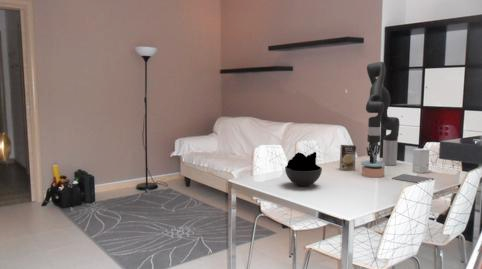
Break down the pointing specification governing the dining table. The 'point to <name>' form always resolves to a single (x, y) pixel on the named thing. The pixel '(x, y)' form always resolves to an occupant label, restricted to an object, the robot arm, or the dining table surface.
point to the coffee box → (347, 157)
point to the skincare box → (420, 160)
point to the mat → (411, 178)
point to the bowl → (372, 171)
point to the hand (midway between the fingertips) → (373, 161)
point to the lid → (374, 164)
